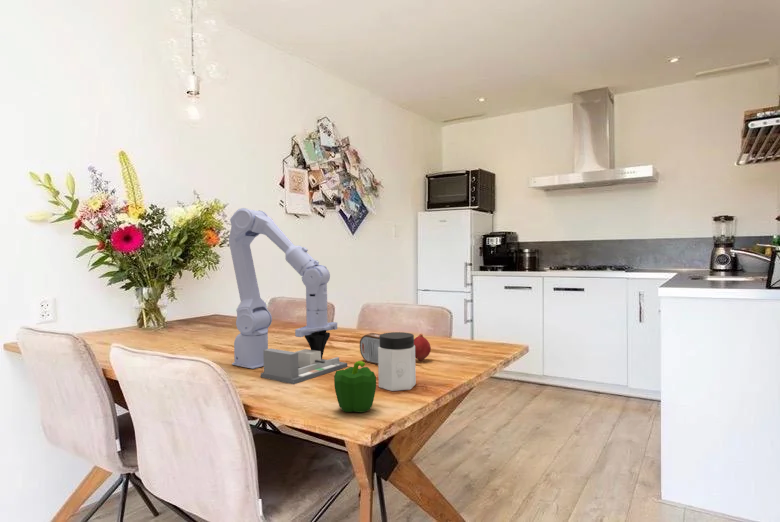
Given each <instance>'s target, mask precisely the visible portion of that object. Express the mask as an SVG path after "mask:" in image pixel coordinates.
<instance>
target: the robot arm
mask: <svg viewBox="0 0 780 522" xmlns="http://www.w3.org/2000/svg"><path fill="white" fill-rule="evenodd" d="M229 222H230V226H231V227H230V233H229V236H228V237H229V238H228V244H229V249H230V254H231V259H232V263H233V268H234V274H235V279H236V283H237V288H238V290H237V291H238V293H239V300H240V302H239V304H238V306H237V308H236V320H235V326H236V328H237V330H238V332H239V333H238V334H237V335H236V336H235V339H234V342H233V348H234V350H233V352H234V353H233V356H234V359H233V360H234V362H232V363H231V365H232V366H237V367H242V368H248V369H253V370H254V369H259V368H261V367H264V354H263V350H266V349H269V334H268V333H269V328H270V327H271V324H272V322H273V316H272V314H271V311H269V309H268V307H267V303H266V302H265V301H264V300H263V298H261V294H260V289H259V284H258V278H257V275H256V270H255V265H254V260H253V255H252V249H251V244H252V243H253V241H254V240H255V238H256V237H258V236H259V235H264V236H266V237H267V238H268V239H269V240H271V242H273V244H275V245H276V247H278V249H280V250H281V251H282V252H283V253H284V254H285V255H284V257H285V262H286V263H288V264H289V265H290V266H291V268H293V269H294V271H296V272H297V273H298V274H299V276H301V282H302V283H303V285H304V286H305V305H306V306H305V307H306V310H305V313H306V325H305V326H302V327H299V328H296V329H294V330H295V331H294V333H295V337H296V338H303V337H304V338H305V340H306V341H307V344H308V345H309V348H310V350H316V351H321V359H323V356H324V352H325V347H326V344H327V342H328V340H329V338H330V337H331V333H330V332H328V331H332V330H338V322H335V321H334V322H333V321H331V322H330V321H329V322H328V320H329V319H328V318H329V317H328V283H329V281H330V277H331V274H330V271H329V269H328V268H327V266H326V265H322V264H320V261H318V260H317V259H315V258H313V256H312V255H311V254H309V252H308V251H309V249H308V248H307V247H305V246H301V245H295V244H294V243H293V242H292V241H291V240H290V239H289V237H287V235H286V234H285V232H283V231H282V230H281V228H280V227H279V226H278V225H277V224H276V222H275V221H274V220H273V218H272V217H270V216H268V214H267V213H266V212H265V211H263V210H255V209H249V208H246V207H241V208H238V209H237V210H235V211H234V213H233V215H231V217H230V219H229Z"/></svg>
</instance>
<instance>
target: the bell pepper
mask: <svg viewBox="0 0 780 522" xmlns="http://www.w3.org/2000/svg"><path fill="white" fill-rule="evenodd" d="M365 365H366V362H364V361H361V360H358V361H355V362H354V364H353V366H349V367H347V368H345V369H339V370H335V373H334V376H333V381H334V390H335V396H336V400H337V404H338V407H339V408H340V409H341V411H343V412H345V413H350V412H357V413H364V412H368V411H369V410H371V408H372V406H373V405H374V400H375V396H376V390H377V389H376V388H377V377H376V375H375V372H374V371H373V370H371V369H370V368H369V367H368V366H365ZM359 366H360V367H361V368H359Z"/></svg>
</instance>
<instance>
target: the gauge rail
mask: <svg viewBox="0 0 780 522" xmlns="http://www.w3.org/2000/svg"><path fill="white" fill-rule="evenodd" d="M263 354H264V366H263V372H261V373H260V378H264V379H267V380H272V381H277V382H281V383H282V382H283V383H287V384H292V385H295V384H298V383H301V382H305V381H307V380H311V379H313V378H317V377H320V376H323V375H326V374H330V373H332V372H336V371H339V370H343V369H344V368H345V369H346V367H347V368H348V362H343V361H340V357H338V356H337V357H333V358H329V359H325V358H322V359H321V361H325V363H315V364H312V365H309V366H305V367H302V368H300V367H298V353H297V352H296V351H290V350H284V349H278V348H277V349H276V348H268V349H266V350H263Z"/></svg>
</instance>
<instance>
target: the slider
mask: <svg viewBox="0 0 780 522" xmlns="http://www.w3.org/2000/svg"><path fill="white" fill-rule="evenodd" d="M295 352H297V353H298V367H300V368H302V367H305V366H309V365H312V364H315V363H325V361H321V351H316V350H311V349H307V348H305V349H301V350H296V351H295Z"/></svg>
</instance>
